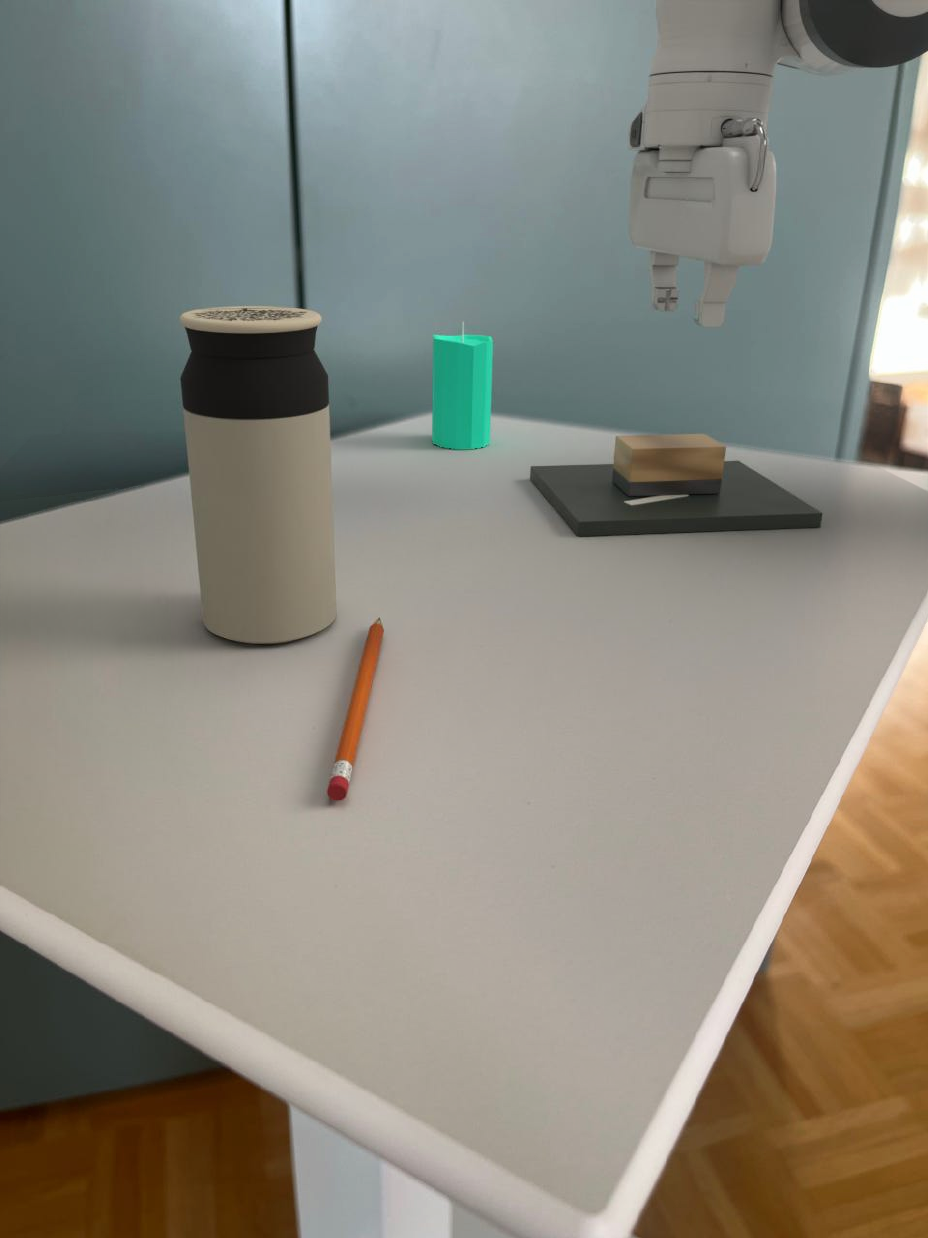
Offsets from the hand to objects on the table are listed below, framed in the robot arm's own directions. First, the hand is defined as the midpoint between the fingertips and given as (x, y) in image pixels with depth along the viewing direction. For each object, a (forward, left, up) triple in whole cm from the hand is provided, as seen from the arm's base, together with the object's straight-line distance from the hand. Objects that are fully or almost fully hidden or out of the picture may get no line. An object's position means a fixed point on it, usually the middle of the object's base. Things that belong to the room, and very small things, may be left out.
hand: (684, 317), depth 79 cm
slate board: (0, 0, -15) cm, 15 cm away
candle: (+14, -22, -15) cm, 30 cm away
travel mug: (+33, +21, -15) cm, 42 cm away
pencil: (+28, +32, -15) cm, 45 cm away
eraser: (0, 0, -14) cm, 14 cm away
